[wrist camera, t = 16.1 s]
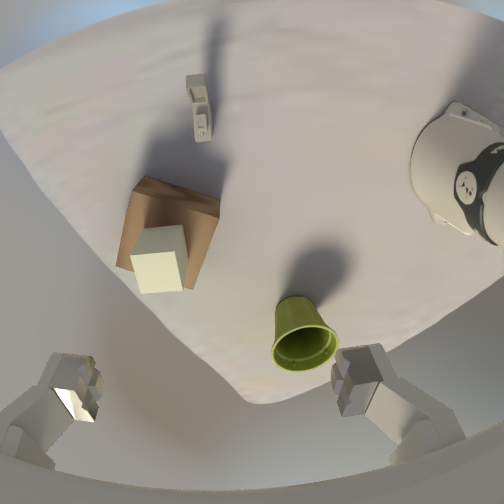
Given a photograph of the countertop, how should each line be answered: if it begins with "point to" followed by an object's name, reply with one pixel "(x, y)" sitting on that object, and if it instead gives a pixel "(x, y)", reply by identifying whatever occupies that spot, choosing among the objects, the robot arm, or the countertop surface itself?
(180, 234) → the sage block
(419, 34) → the countertop surface
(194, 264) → the walnut block
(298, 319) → the plant pot
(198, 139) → the lighter
